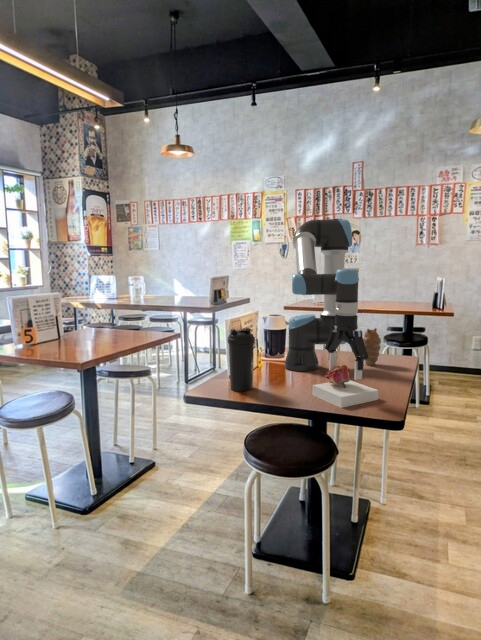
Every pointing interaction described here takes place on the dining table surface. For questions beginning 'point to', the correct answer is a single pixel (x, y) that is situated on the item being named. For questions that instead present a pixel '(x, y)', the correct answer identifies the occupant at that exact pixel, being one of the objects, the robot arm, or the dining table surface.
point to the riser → (345, 393)
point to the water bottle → (241, 359)
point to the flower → (338, 375)
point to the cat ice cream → (372, 346)
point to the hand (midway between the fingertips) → (344, 374)
